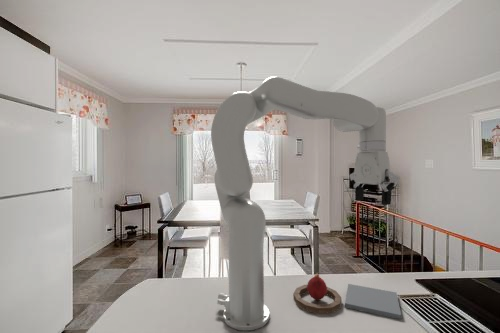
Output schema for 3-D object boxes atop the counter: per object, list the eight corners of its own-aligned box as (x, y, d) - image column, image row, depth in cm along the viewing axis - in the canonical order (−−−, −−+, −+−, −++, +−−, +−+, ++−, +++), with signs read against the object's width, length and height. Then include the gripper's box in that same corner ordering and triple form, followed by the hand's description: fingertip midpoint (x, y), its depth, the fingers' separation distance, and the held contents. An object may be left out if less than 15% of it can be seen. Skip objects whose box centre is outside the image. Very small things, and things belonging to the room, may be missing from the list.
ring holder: (288, 306, 74) (288, 301, 74) (300, 286, 86) (300, 281, 86) (338, 318, 68) (338, 312, 68) (342, 294, 80) (342, 289, 80)
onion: (327, 306, 74) (327, 279, 74) (307, 304, 75) (307, 277, 75) (326, 296, 79) (325, 270, 79) (307, 294, 81) (306, 269, 80)
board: (345, 307, 73) (345, 303, 73) (348, 287, 85) (348, 283, 85) (401, 319, 67) (401, 315, 67) (396, 296, 79) (396, 292, 79)
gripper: (342, 149, 86) (342, 199, 86) (389, 145, 71) (389, 207, 71) (358, 149, 89) (358, 198, 90) (407, 146, 74) (406, 205, 74)
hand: (372, 202), depth 80 cm, fingers open, 9 cm apart
